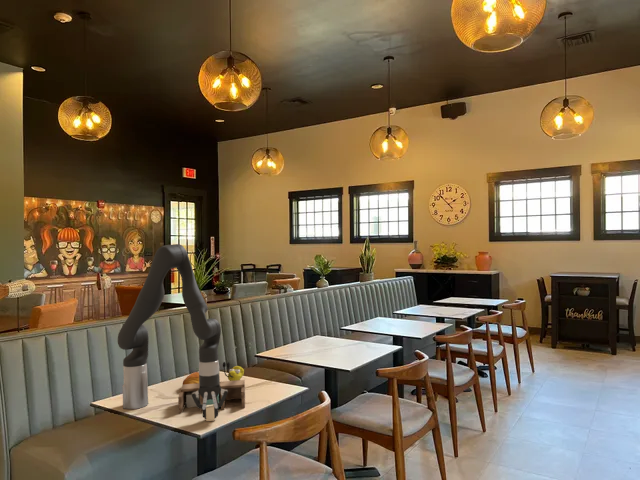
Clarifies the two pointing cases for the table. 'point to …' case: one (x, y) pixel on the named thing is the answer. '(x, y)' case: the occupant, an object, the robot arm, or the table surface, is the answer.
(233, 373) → the toy
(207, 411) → the block
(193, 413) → the table surface
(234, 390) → the lane shelf
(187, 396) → the plain block
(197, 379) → the croissant
